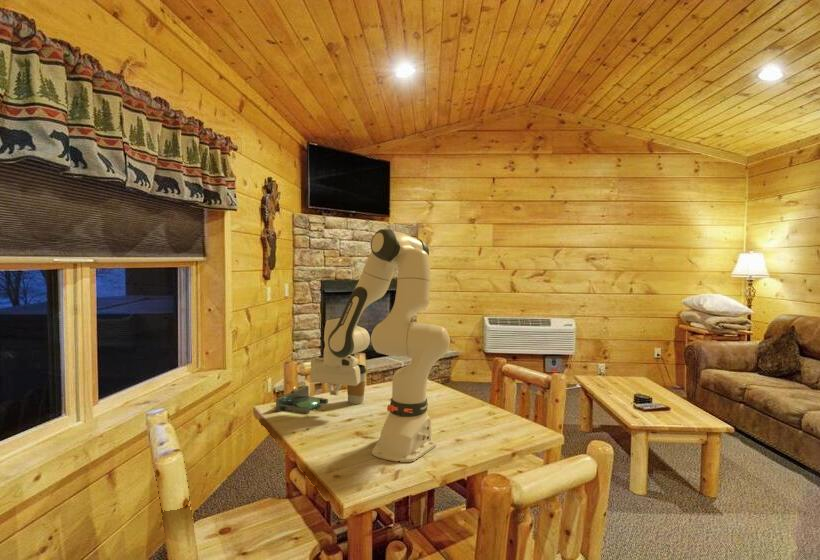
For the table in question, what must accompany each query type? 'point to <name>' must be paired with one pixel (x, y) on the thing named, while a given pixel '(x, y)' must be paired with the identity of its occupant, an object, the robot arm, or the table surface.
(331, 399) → the table surface
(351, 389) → the coffee cup
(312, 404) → the cover disc
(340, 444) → the table surface
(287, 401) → the cradle
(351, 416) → the table surface
